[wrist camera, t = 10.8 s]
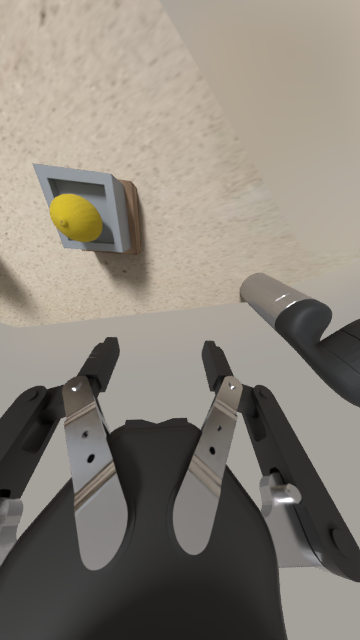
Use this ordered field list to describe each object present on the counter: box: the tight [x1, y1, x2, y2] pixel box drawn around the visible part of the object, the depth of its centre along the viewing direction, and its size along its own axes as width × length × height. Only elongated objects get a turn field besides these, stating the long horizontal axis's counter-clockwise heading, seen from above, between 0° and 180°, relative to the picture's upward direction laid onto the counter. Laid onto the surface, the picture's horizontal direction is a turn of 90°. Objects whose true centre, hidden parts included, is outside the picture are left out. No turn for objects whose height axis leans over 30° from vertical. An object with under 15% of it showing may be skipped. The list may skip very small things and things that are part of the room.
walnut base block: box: [82, 179, 141, 255], centre depth 29 cm, size 12×12×5 cm
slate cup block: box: [32, 163, 131, 252], centre depth 24 cm, size 10×10×6 cm
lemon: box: [50, 194, 103, 242], centre depth 19 cm, size 6×6×8 cm
